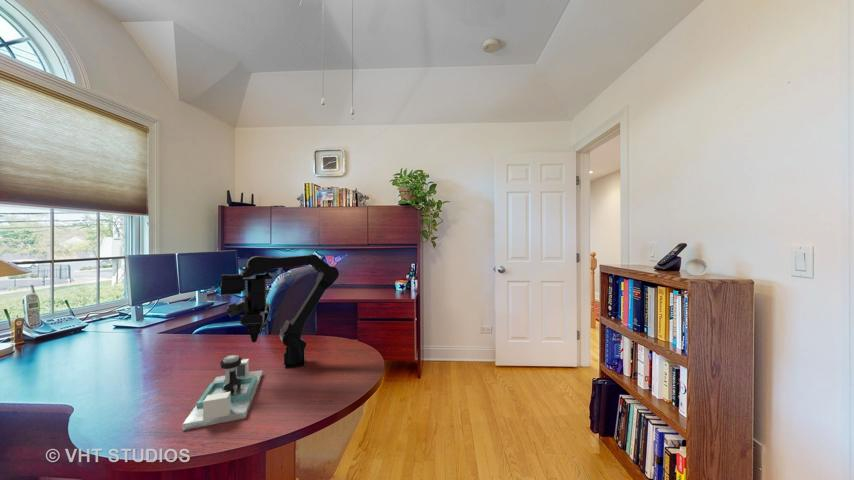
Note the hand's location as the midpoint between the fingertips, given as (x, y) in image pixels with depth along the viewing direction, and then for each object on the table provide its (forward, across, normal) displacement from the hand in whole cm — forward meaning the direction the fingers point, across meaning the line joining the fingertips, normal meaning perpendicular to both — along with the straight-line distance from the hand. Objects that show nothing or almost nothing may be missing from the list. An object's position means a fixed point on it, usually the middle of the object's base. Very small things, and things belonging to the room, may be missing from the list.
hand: (256, 337), depth 101 cm
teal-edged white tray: (+12, +16, -4) cm, 20 cm away
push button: (+11, +16, -4) cm, 19 cm away
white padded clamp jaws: (+10, +15, -4) cm, 19 cm away
